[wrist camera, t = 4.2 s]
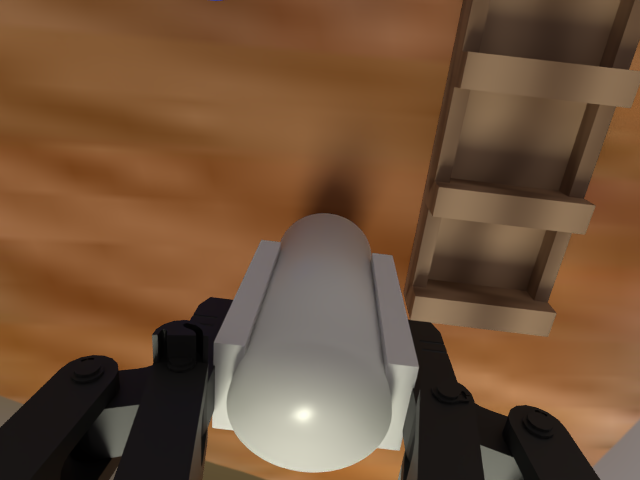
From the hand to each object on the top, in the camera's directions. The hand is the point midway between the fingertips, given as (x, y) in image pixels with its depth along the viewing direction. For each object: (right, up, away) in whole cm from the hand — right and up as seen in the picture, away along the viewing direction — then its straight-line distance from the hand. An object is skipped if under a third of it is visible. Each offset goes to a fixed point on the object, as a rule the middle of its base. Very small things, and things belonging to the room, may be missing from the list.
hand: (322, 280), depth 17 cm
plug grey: (0, +1, +2) cm, 2 cm away
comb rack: (+13, +9, +14) cm, 21 cm away
